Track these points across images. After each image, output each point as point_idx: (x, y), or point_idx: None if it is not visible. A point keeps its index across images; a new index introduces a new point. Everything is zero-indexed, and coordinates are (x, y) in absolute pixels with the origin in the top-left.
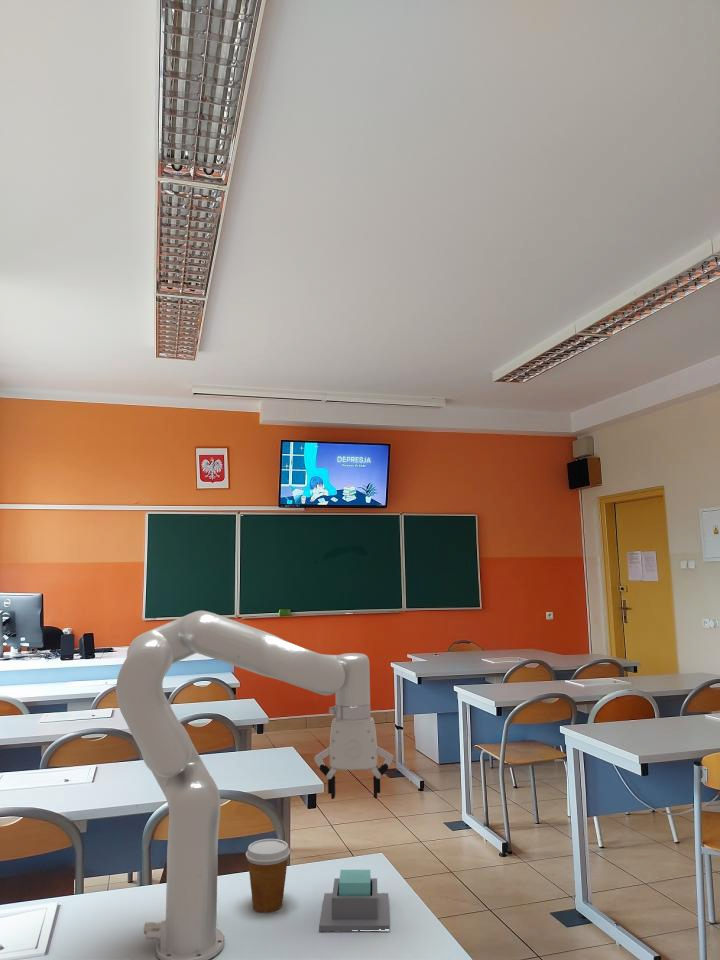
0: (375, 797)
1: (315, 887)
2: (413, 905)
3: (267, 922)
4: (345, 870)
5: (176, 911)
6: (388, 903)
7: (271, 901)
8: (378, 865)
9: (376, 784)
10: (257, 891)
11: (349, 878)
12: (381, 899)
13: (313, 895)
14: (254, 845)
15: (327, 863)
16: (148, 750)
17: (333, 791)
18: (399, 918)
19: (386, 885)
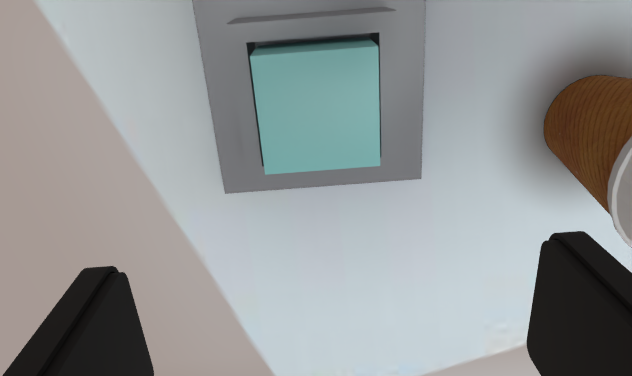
0: (101, 269)
1: (447, 237)
2: (147, 156)
3: (589, 14)
4: (360, 161)
5: None
6: (214, 129)
7: (595, 84)
8: (281, 364)
9: (8, 373)
10: None
11: (338, 91)
12: (240, 152)
13: (451, 192)
14: None
15: (421, 364)
16: None
17: (597, 273)
18: (176, 73)
19: (244, 263)
